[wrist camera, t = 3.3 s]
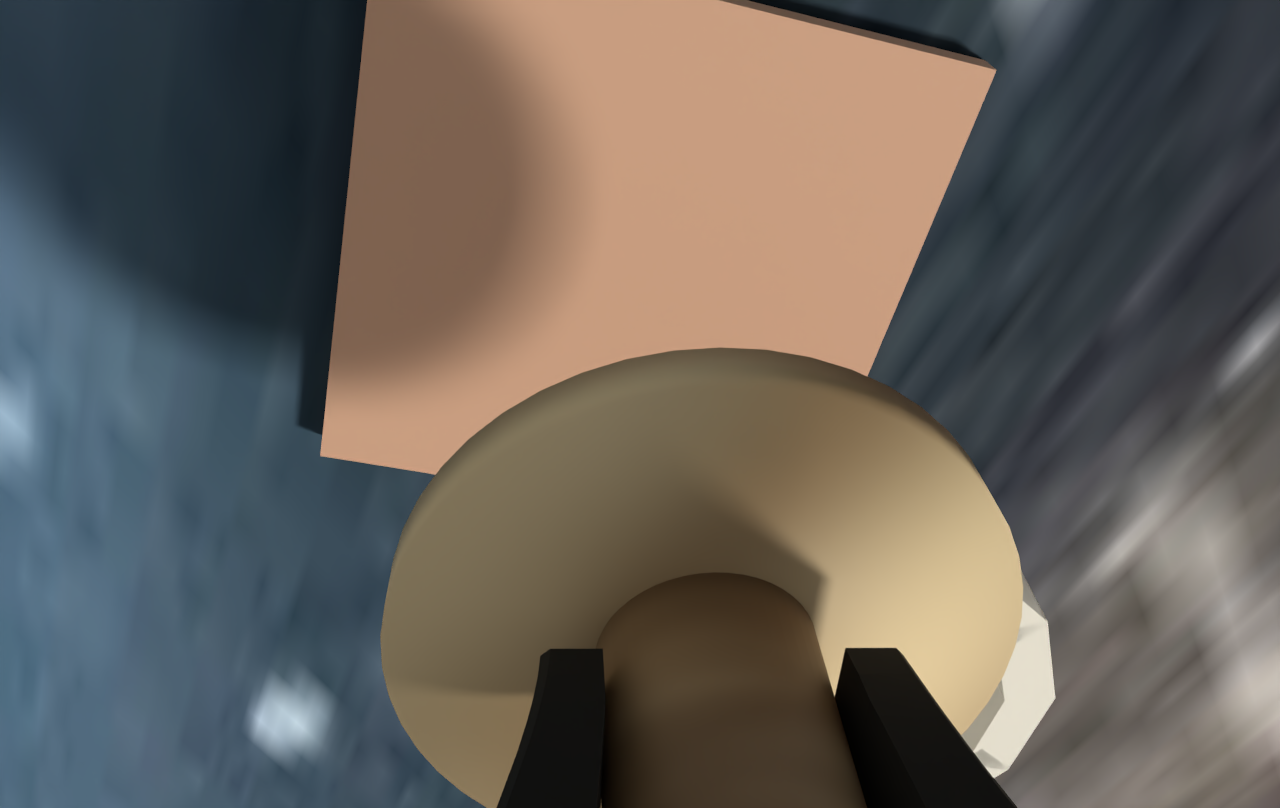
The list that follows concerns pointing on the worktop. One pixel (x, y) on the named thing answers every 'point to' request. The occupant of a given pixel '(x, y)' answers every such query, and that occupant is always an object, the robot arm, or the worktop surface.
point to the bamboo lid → (697, 575)
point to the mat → (620, 199)
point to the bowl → (1016, 694)
